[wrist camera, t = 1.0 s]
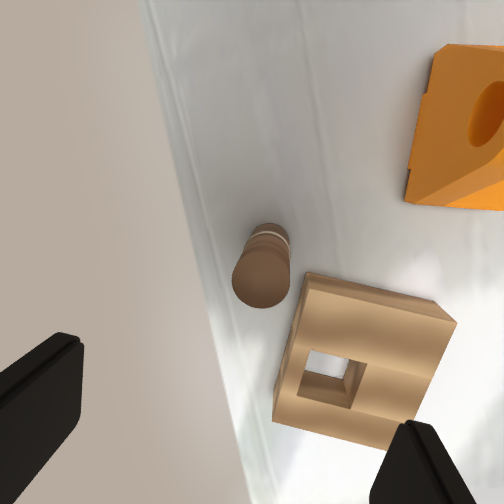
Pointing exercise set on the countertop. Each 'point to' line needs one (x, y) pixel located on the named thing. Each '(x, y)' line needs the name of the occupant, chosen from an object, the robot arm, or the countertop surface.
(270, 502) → the countertop surface
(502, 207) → the bracket
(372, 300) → the board
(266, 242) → the peg
